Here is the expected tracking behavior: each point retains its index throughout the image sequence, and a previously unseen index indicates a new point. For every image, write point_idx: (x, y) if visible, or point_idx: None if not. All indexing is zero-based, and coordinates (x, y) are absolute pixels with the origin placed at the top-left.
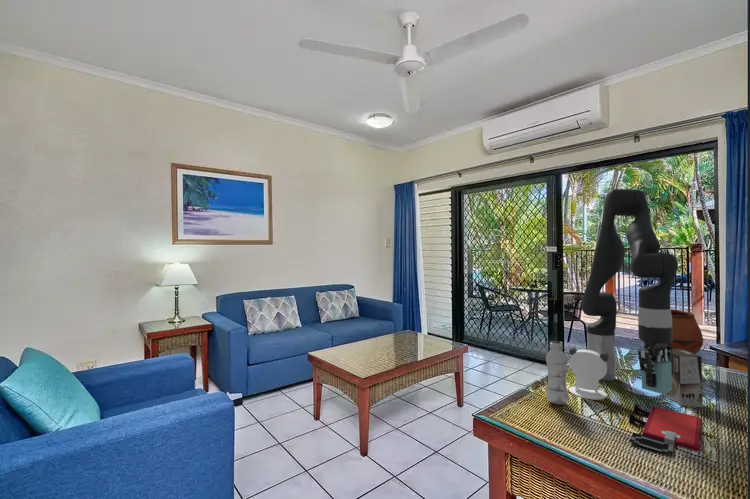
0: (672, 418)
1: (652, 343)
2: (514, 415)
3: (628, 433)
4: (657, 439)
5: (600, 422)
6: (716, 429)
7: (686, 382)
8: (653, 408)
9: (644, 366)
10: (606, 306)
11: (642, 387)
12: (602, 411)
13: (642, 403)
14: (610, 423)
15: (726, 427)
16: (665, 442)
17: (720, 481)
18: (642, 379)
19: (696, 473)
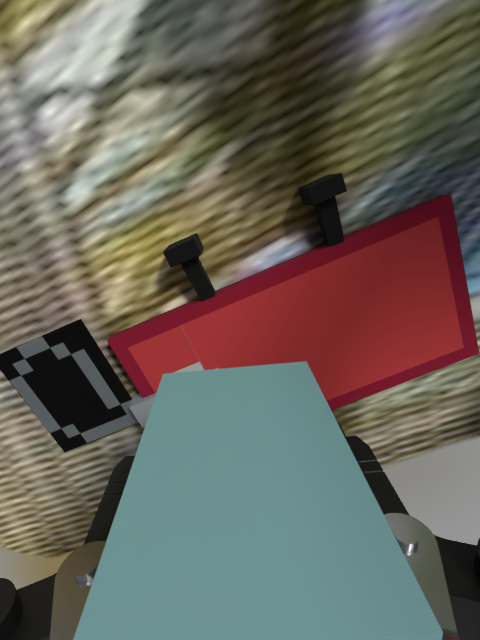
0: (367, 315)
1: None
2: None
3: (76, 299)
4: (120, 383)
5: (42, 177)
6: (418, 408)
7: None
8: (419, 216)
9: (53, 622)
10: None
11: (163, 380)
12: (168, 89)
13: (475, 128)
14: (82, 206)
15: (467, 414)
16: (128, 404)
17: (76, 537)
18: (150, 422)
19: (52, 505)
